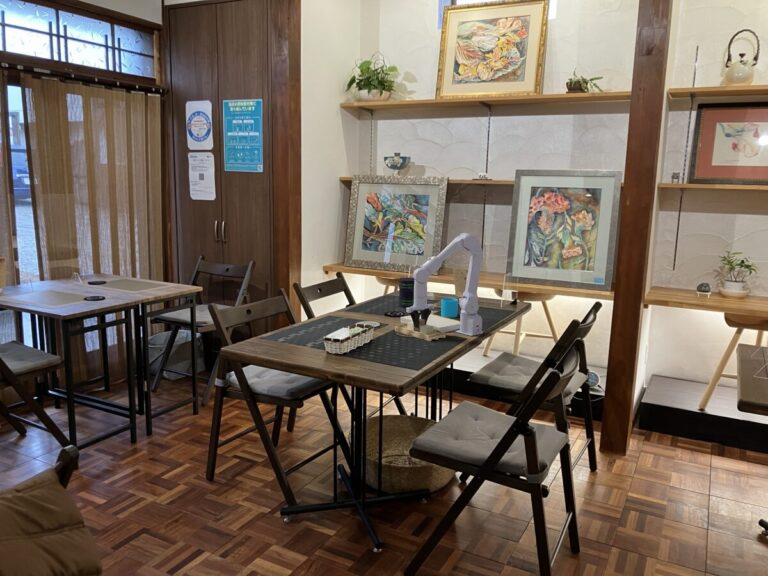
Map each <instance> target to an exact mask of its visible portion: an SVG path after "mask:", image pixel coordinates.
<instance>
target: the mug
mask: <svg viewBox="0 0 768 576" xmlns="http://www.w3.org/2000/svg"><path fill="white" fill-rule="evenodd" d="M458 303H459V299H457V298H454V297H445V298H441V303H440V304H441V305H440V307H441V309H440V311H441V312H440V316H441V317H445V318H456V317H457V318H458V308H459V307H458V306H459V304H458Z"/></svg>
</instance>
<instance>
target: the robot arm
mask: <svg viewBox="0 0 768 576" xmlns="http://www.w3.org/2000/svg"><path fill="white" fill-rule="evenodd" d="M464 249H465V250H466V251H467V253H468V254H469V256H470V257H469V262H468V263H469V265H468V268H467V269H468V271H467V276H466V282H465V283H466V284H465V288H464V289H465V290H464V291H463V293H462V296H461V298H460V299H459V301H458V303H459V304H458V306H459V307H460V309H461V310H460V314H459V315H460V316H459V317H460V318H459V319H460V320H459V321H460V329H457V330H455V332H456V333H459V334H463V335H466V336H469V337H470V336H471V337H473V336H477V335H483V334H484V332H483V318H482V316H481V315H480V314H478V311H479V308H480V305H479V296H478V288H479V283H480V282H479V281H480V277H481V276H480V275H481V268H482V264H483V257H484V250H483V248H482V246H481V243H480V240H479V238H478V237H477V236H476V235H475V234H470V233H468V232H462V233H459V235H458V236H456V237H454V239H453V240H452V241H451V242H450V243H449V244H448V245H447V246H445V248H444V249H442V251H440V253H438V255H432V256H429V257H428V258H427V261H426V262H424V263H423V264H421V265H419V267H418V268H416V269H414V272H413V273H412V278H414V279H415V280H414V305H413V306H411V307H408V308H406V313H408V314H409V316H411V318H412V320H413V324H414V327H415V328H418V327H419V318H420V315H421V319H423V320H425V325H426V323H427V320H428V317H429V315H430V314H432V310H433V309H434V308H435V307H434V306H435V305H434V304H433V303H428V281H429V279H430V276H433V274H434V273H435V272H437V271H438V270H439V269H440V268H441V267H442V263H443V262H444V261H445V260H446V259H447V258H448V257H450V256H451V255H452V254H453V253H455V252H457V251H460V250H461V251H462V250H464Z"/></svg>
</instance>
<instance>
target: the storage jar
mask: <svg viewBox="0 0 768 576" xmlns="http://www.w3.org/2000/svg"><path fill="white" fill-rule="evenodd" d="M414 280H415V279H414V278H413V277H400V278H398V290H399V296H398V308H400V309H406V308H408V307H411V306H413V305H414Z"/></svg>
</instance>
